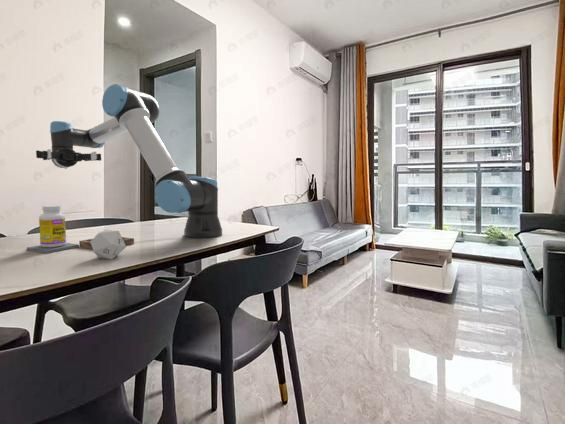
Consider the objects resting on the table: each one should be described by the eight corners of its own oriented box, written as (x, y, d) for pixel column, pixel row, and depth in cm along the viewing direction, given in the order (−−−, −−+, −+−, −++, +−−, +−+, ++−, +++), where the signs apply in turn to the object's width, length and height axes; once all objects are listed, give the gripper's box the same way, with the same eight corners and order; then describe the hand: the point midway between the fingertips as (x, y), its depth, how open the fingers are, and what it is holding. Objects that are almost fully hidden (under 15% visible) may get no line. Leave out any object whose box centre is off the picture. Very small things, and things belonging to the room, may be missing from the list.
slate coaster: (79, 247, 102) (79, 244, 102) (45, 253, 93) (45, 250, 93) (60, 244, 106) (60, 241, 106) (26, 249, 97) (26, 247, 97)
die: (92, 265, 83) (115, 237, 83) (77, 246, 87) (99, 219, 87) (117, 268, 91) (137, 242, 91) (102, 251, 94) (122, 225, 94)
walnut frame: (134, 243, 108) (133, 238, 108) (103, 250, 97) (102, 244, 97) (111, 240, 112) (111, 235, 112) (79, 246, 102) (79, 240, 102)
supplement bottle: (52, 248, 95) (50, 207, 94) (35, 247, 97) (32, 206, 95) (71, 244, 102) (69, 205, 101) (54, 243, 103) (52, 204, 102)
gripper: (101, 167, 135) (112, 166, 119) (27, 166, 119) (29, 163, 103) (100, 150, 134) (111, 146, 118) (25, 146, 118) (27, 140, 102)
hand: (73, 154), depth 111 cm, fingers open, 13 cm apart
